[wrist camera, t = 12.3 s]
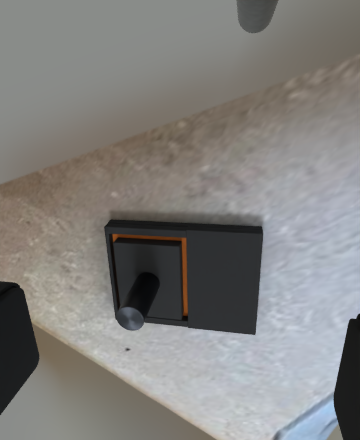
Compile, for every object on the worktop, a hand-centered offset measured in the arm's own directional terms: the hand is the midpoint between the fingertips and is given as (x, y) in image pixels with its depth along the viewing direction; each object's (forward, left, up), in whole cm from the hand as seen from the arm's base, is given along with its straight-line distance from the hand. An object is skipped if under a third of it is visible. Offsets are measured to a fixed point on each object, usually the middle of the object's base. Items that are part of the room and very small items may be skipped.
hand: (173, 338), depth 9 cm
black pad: (+12, -8, -22) cm, 27 cm away
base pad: (+12, -4, -23) cm, 27 cm away
